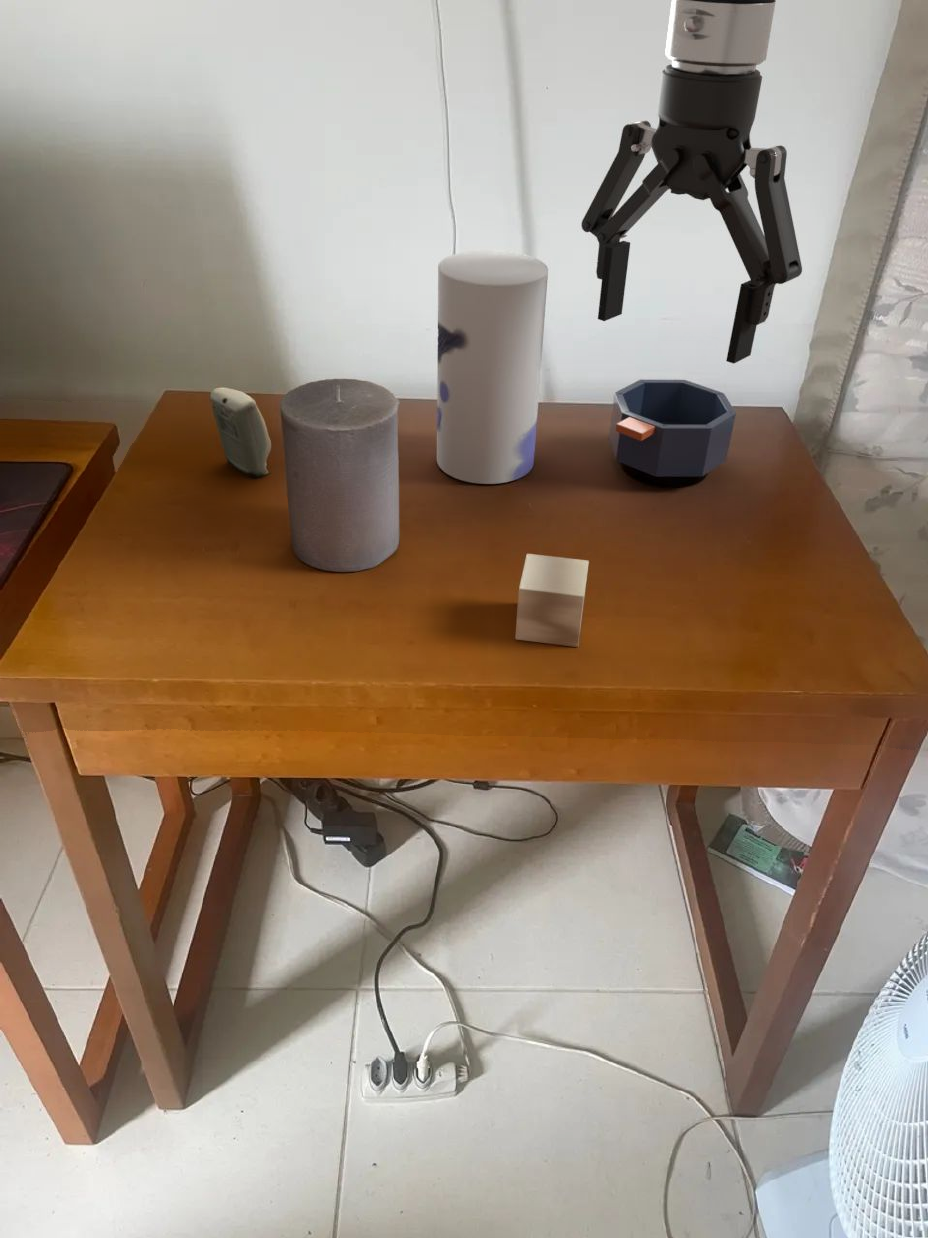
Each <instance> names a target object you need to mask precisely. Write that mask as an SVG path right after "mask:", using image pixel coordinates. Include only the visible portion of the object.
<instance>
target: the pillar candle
mask: <svg viewBox="0 0 928 1238" xmlns="http://www.w3.org/2000/svg"><path fill="white" fill-rule="evenodd" d="M400 404H401V403H400V400H399V399H398V398H396V395H394V393H393V392H391V390H389V389H387V388H386V387H384V386H382V385H380V384H377V383H375V382H372V381H370V380H369V381H368V380H362V379H356V378H325V379H321V380H316V381H315V380H314V381H310V382H306V383H304V384H301V385H298V386H297V387H294V388H293V389H291V390H289V391H288V392H286V394H285V395H283V397H282V398H281V400H280V404H279V408H280V419H281V431H282V445H283V456H284V465H285V466H284V467H285V468H284V469H285V481H286V495H287V505H288V516H289V528H290V539H291V548H292V551H293V553H294V554H295V556H296V558H298V560H299V561H301V562H303V563H304V564H306V565H308V566H310V567H313V568H316V569H318V570H323V571H326V572H327V571H328V572H334V573H350V572H359V571H363V570H370V569H373V568H375V567H377V566H378V565H380V564H382V563H383V562H384V561H385V560H387V559H388V558H389V557H390V556H392V555H393V554H394V553H395V552H396V551H397V550H398V547H399V543H400V477H399V474H400V471H399V466H400V465H399V464H400V463H399V460H400V459H399V434H398V433H399V417H398V416H399V415H398V414H399V406H400Z"/></svg>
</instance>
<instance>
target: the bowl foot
mask: <svg viewBox="0 0 928 1238" xmlns="http://www.w3.org/2000/svg"><path fill="white" fill-rule="evenodd" d="M619 465H620V468H621V470H622V471H623V473H625V474H626V475H627V476H628V477H629V478H631V479H633V480H635V481H637V482H639V483H641V484H645V485H648V486H652V487H658V488H664V489H679V488H680V489H681V488H688V487H693V486H695V485H697V484H699V483H701V482H703V481H704V480H705V479H706V478H707V476H708V473H709V472H708V473H707V474H705V475H704V476H701V477H655V476H653V475H650V474H648V473H645V472H643V471H640V470H638V469H635V468H633V467H631V466H628V465H626V464H623V463H621V462H619Z"/></svg>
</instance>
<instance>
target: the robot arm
mask: <svg viewBox="0 0 928 1238" xmlns="http://www.w3.org/2000/svg"><path fill="white" fill-rule="evenodd" d="M776 1H777V0H671V5H670V13H669V20H668V29H667V35H666V45H665V51H664V52H665V53H664V54H665V56H666V58H667V59H668V60H671V64H668V65H666V66H665V68H664V69H663V70H662V72H661V79H660V87H659V96H658V104H657V110H656V111H657V113H656V114H657V116H658V118H659V122H658V125H657V127H656V128H655V127H652V124H651V123H650V122H649V121H648V120H642V121H641V120H640V121H637V122H632V123H627V124H625V125H624V126H623V128H622V131H621V136H620V142H619V145H618V151H617V154H616V155H615V157H614V159H613V160H612V163H611V164H610V166H609V169H608V170H607V172H606V175H605V176H604V178H603V180H602V182H601V184H600V186H599V188H598V189H597V192H596V194H595V195H594V198H593V199H592V201H591V203H590V205H589V207H588V209H587V211H586V213H585V214H584V216H583V218H582V221H581V229H582V230H583V232H585V233H591V234H592V235H593V236H594V237H595V238H596V240H597V242H598V252H597V262H596V269H595V271H596V278H597V279H598V280H601V285H600V293H599V295H600V296H599V303H598V304H599V305H598V312H597V313H598V314H597V320H599V321H602V322H606V321H609V320H611V319H614V318H616V317H619V316H620V315H622V314H623V307H624V299H625V290H626V282H627V276H628V275H627V273H628V265H629V258H630V257H629V256H630V249H631V241H627V240H622V241H620V240H621V239H624V238H626V237H628V235H627V233H628V232H629V231H630V230H631V229H632V228H633V227H634V226H635V225H636V224H637V223H638V221H640V220H641V219H642V217H643V216H644V215H645V214H646V213H647V212H648V211H649V210H650V209H651V208H652V207H653V206H654V205H655V204H656V203H657V202H658V201H659V199H661V198H662V196H663V195H664V194H665V193H666V192H667V191H669V190H670V194H675V195H678V196H679V195H688V196H690V197H691V198H693V199H696V200H700V201H705V200H710V203H711V205H712V206H713V208H714V209H715V210H717V211H718V212H719V214H720V215H721V217H722V220H723V222H724V224H725V227H726V228H727V231H728V233H729V236H730V238H731V239H732V242H733V244H734V247H735V248H736V250H737V253H738V255H739V257H740V260H741V261H742V264H743V266H744V268H745V270H746V273H747V275H748V277H749V279H750V280H748V281H745V282H743V283H740V288H739V293H738V298H737V303H736V308H735V312H734V313H735V314H734V319H733V323H732V330H731V335H730V341H729V344H728V349H727V355H726V360H725V361H726V362H728V363H731V364H733V365H734V364H736V363H738V362H740V361H742V360H744V359H746V358H748V357H750V356H751V354H752V349H753V345H754V340H755V335H756V331H757V326H759V325H761V324H763V323H765V322H766V320H767V319H768V317H769V314H770V309H771V304H772V300H773V296H774V291H775V287H776V285H777V284H778V285H783V284H785V283H788V282H790V281H792V280H794V279H796V278H798V277H800V276H801V275H802V272H803V265H802V260H801V255H800V251H799V245H798V241H797V235H796V231H795V226H794V221H793V214H792V211H791V205H790V200H789V195H788V189H787V185H786V179H785V173H786V165H787V155H788V152H787V149H786V147H785V146H783V145H775V146H771V147H768V148H764V147H763V148H760V147H752V144H751V136H750V135H751V131H752V127H753V125H754V122H755V119H756V115H757V114H756V113H757V109H758V103H759V97H760V92H761V87H762V81H763V76H762V75H761V72H760V71H759V70H758V69H757V66H758V65H761V64H762V63H763V62H765V61H766V60H767V55H768V51H769V50H768V48H769V43H770V37H771V31H772V25H773V20H774V15H775V14H774V13H775V8H776ZM651 149H652V152H653V155H654V158H655V160H656V162H657V164H656V165H655V166H654V167H653V168H652V170H651V171H649V173H648V174H647V175H646V176H645V177H644V178H643V180H642V181H641V185H640V186H639V187H638V188H637V189H636V190H635V191H634V192H633V193H632V194H631V195H630V196H629V197H628V199H627V200H626V201H625V202H624V203H623V204H622V205H621V206H620V208H618V207H619V205H620V203H621V201H622V199H623V197H624V196H625V194H626V192H627V190H628V188H629V186H630V184H631V182H632V181H633V180H634V177H635V176H636V173H637V172H638V170H639V168H640V166H641V165H642V163H643V161H644V158H645V156H646V154H648V153H649V152H650V151H651ZM747 166H748V167H749V175H750V177H752V178H753V179H754V191H755V197H756V202H757V206H758V211H759V216H760V217H759V218H760V221H761V225H762V226H761V225H760V223H759V221H758V219H757V216H756V214H755V212H754V210H753V207H752V205H751V203H750V201H749V191H748V188H747V186H746V183H745V182H744V179H743V177H742V175H741V173H742V172H743V171H744V169H746V168H747ZM727 190H728V191H727ZM617 209H618V210H617ZM616 210H617V211H616ZM615 211H616V212H615ZM761 227H762V228H761Z"/></svg>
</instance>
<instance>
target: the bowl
mask: <svg viewBox="0 0 928 1238" xmlns="http://www.w3.org/2000/svg"><path fill="white" fill-rule="evenodd" d="M612 401H613V402H612V407H611V408H612V409H611V416H610V423H609V424H610V426H609V431H608V442H609V446H610V448H611V450H612V453H613V455H614V458H615V461H617V462H619V463H620V462H621V463H623V464H626V465H628V466H631V467H633V468H635V469H638V470H640V471H643V472H645V473H648V474H650V475H653V476H655V477H701V476H704V475H705V474H707V473H710V472H711V471H713V470H714V469H716V468H717V467H719V466H721V465H722V464H724V463H725V462H727V458H728V453H729V448H730V443H731V439H732V435H733V431H734V425H735V420H736V415H737V412H736V411H735V409H734V407H733V406H732V404H731V402H730V401H729V399H728V398H727V395H726V394H725V393H724V392H721V391H720V390H716V389H714V388H710V387H708V386H704V385H701V384H698V383H695V382H692V381H689V380H687V379H638V380H636V381H634V382H633V383H631V384H628V385H627V386H624V387H623V388H621V389H619V390H617V391H615V392H614V394H613V399H612ZM707 475H708V474H707Z"/></svg>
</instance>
